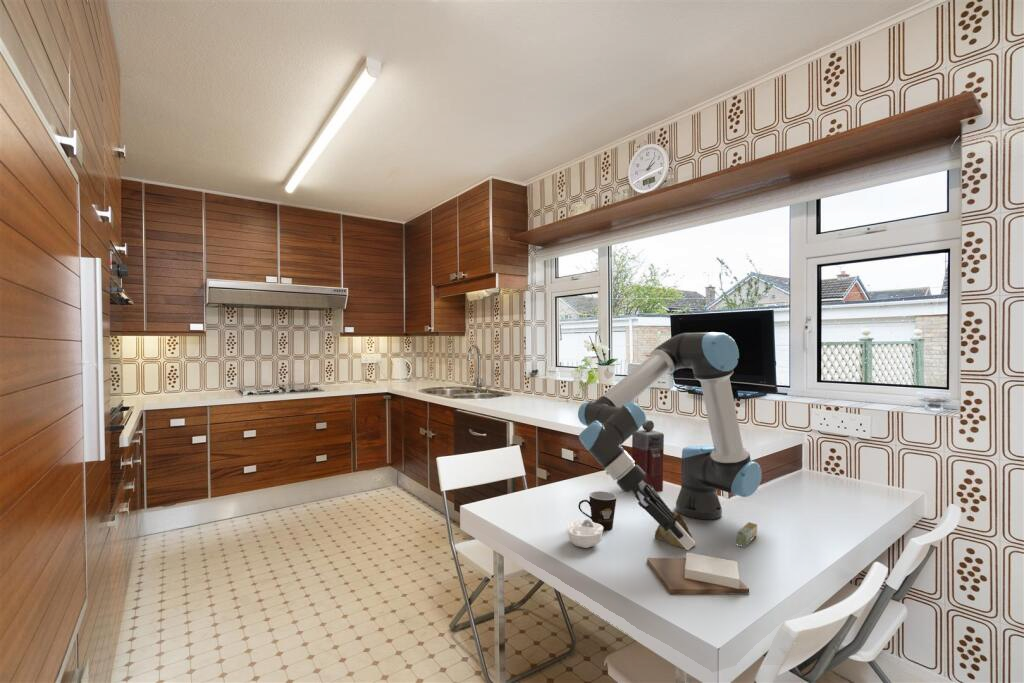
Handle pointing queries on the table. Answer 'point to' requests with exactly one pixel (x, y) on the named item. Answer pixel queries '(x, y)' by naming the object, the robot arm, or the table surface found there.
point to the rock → (668, 536)
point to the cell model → (585, 533)
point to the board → (676, 583)
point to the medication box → (746, 534)
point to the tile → (712, 570)
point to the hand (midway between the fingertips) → (691, 546)
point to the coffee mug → (601, 508)
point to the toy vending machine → (649, 454)
